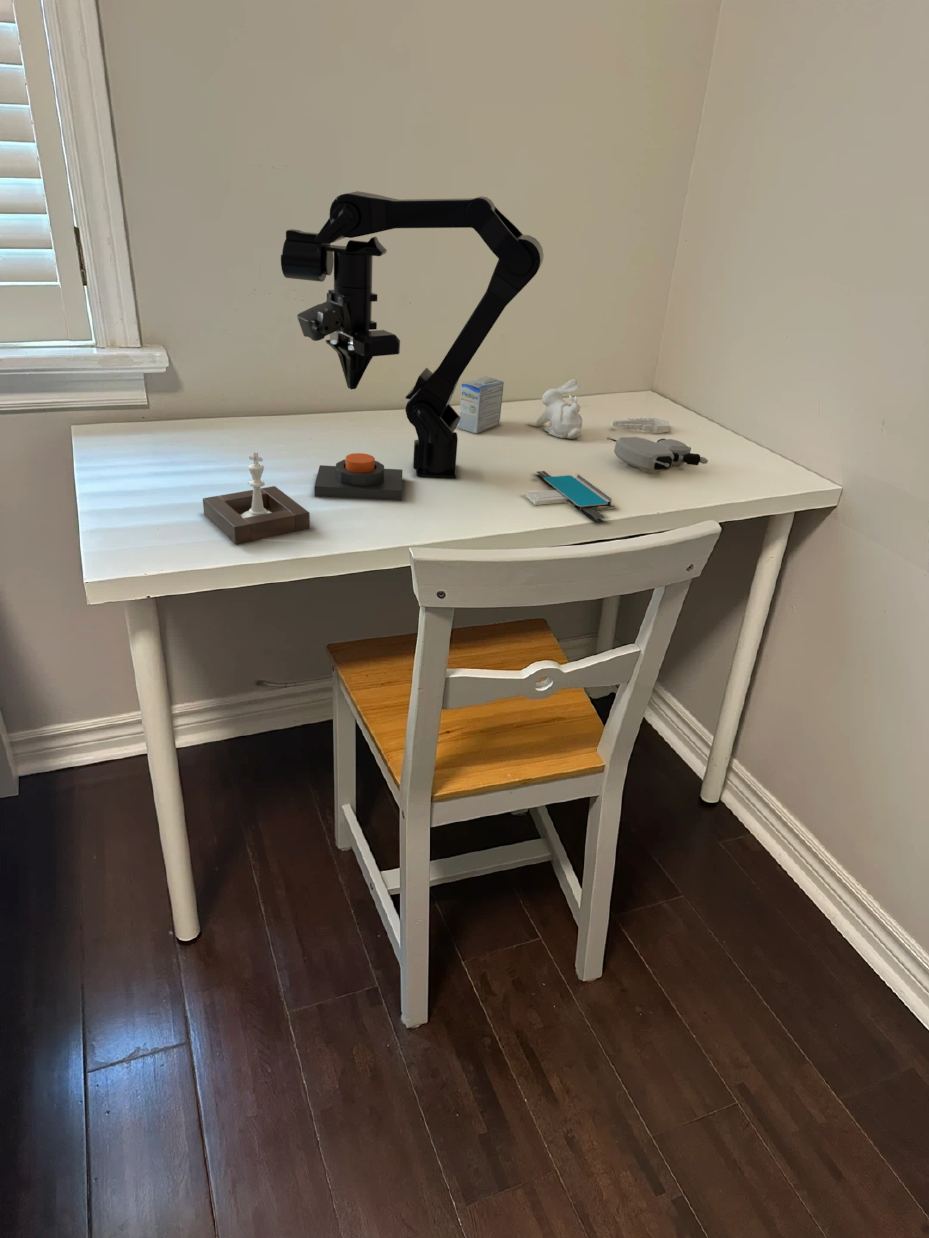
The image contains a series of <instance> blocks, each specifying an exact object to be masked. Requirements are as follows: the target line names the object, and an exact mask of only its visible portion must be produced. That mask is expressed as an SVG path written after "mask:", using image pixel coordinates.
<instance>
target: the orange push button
mask: <svg viewBox="0 0 929 1238" xmlns="http://www.w3.org/2000/svg"><path fill="white" fill-rule="evenodd" d="M345 459H346V469H347V470H348V471H352V472H363V473H364V472H371V471H373V470H374V469H375V461H376V458H375V457H374V456H373V455H372V454H369V453H363V452H355V453H350V454H347V455H346V456H345Z"/></svg>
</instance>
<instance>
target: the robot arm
mask: <svg viewBox="0 0 929 1238" xmlns="http://www.w3.org/2000/svg"><path fill="white" fill-rule="evenodd" d="M458 228H459V229H462V228H463V229H465V228H471V229H473V230H474V231H475V232H476V233H477V234H478V236H479V237H480V238H481V239H482V241H483V242H484V243H485V245H486V246H487V247H488V249H489V250H490V251H491V252H492V253H493V254H494V256H495V257H496V258H497V259H498V260H497V262H496V265H495V267H494V270H493V272H492V275H491V277H490V280H489V283H488V285H487V288H486V291H485V292H484V295H483V296H482V297H481V299H480V301H479V302H478V303H477V306H476V307H475V308H474V310H473V311H472V313H471V315H470V317H469V318H468V320H467V322H465V324H464V326H463V328H462V329H461V330H460V332H459V334H458V335H457V337H456V339H454V342H453V343H452V345H451V347H450V348H449V350H448V351H447V353H446V354H445V356H444V358H443V359H442V361H441V363H439V366H437V368H436V369H435V370H434V371H433V372H432V371H431V370H430V368H428V367H425V368H424V369H423V370H422V372H421V373H420V374H419V375H418V377H417V379H416V381H415V384H414V386H413V387H412V388H411V390H410V391H409V392H408V393H407V394H406V396H405V397H404V398H405V399H406V400H408V401H407V402H406V405H405V410H404V411H405V414H406V418H407V420H408V422H409V424H411V425H412V426H413V427H414V430H415V432H416V435H417V439H414V440H413V456H412V457H413V458H412V459H413V460H412V465H413V466H412V467H413V470H415V475H416V477H423V478H441V479H457V470H456V469H457V468H456V466H457V454H458V442H459V441H458V440H459V439H458V432H455V430H456V429H457V427H458V424H459V421H460V416H459V414H458V412H457V411H456V410H455V409H454V408H453V407H452V406H451V404H450V403H451V401H452V398H453V395H454V393H455V391H456V388H457V386H458V383H459V380H460V378H461V376H462V374H463V373H464V371H465V369H466V368H467V366H468V365H469V364H470V362H471V361H472V359H473V358H474V357H475V354H476V353H477V351H478V350H479V348H480V347H481V345H482V344H483V342H484V340H485V339H486V337H487V336H488V334H489V333H490V332H491V330H492V328H493V327H494V325H495V323H496V322H497V321H498V319H499V318H500V316H501V315H502V313H503V311H504V310H505V308H506V307H507V306H508V305H509V304H510V303H511V302H512V300H514V298H515V297H517V295H518V294H519V293H520V292H522V290H523V289H524V288H525V287H526V286H527V285H528V284H529V282H530V281H531V280H533V278H535V276H536V275H537V273H538V271H539V270H540V268H541V267H542V264H543V262H544V249H543V246H542V245H541V243H540V242H539V241H538V239H537V238H536V237H533V236H532V235H529V234H523V232H522V231H521V230H520V229H519V228H518V227H517V226H516V225H515V224H514V223H513V222H512V221H511V220H510V219H509V218H508V217H507V216H505V215H504V214H503V213H502V212H501V211H500V209H499V208H498V207H496V205H495V203H494V202H493V201H492V199H490V198H488V197H487V196H482V195H481V196H477V197H474V198H417V199H416V198H413V199H412V198H411V199H407V198H406V199H397V198H394V197H393V198H392V197H388V196H385V195H380V194H375V193H369V192H364V191H359V190H358V191H352V192H347V193H343V194H340V195H337V196H336V197H335V199H334V200H333V201H332V202H331V204H330V207H329V218H328V219H327V221H326V222H325V223H324V224H323V226H322V228H320V231H318V232H311V231H309V232H308V231H303V230H300V229H295V228H290V229H287V230H286V231H285V240H284V242H283V245H282V250H281V251H282V252H281V254H280V267H281V272H282V274H283V277H284V278H286V279H290V280H291V279H292V280H302V281H310V282H311V281H312V282H322V283H323V282H324V281H325V280H326V278H327V276H331V275H332V274H333V289H328V290H327V292H326V300H325V301H324V302H322V303H319V304H316V305H314V306H312V307H310V308H307V309H305V310H303V311H300V312H299V313H297V315H296V317H297V321H298V323H299V326H300V329H301V332H302V335H303V336H304V337H305V338H309V339H311V340H312V341H315V342H318V341H322V340H323V339H325V337H326V336H328V335H329V339H326V340H325V343H326V344H327V345H328V346H329V347H331V348H332V349H333V350H334V351H335V352H336V353H337V356H338V359H339V362H340V366H341V369H342V372H343V376H344V380H345V383H346V387H347V388H348V389H350V390H356V389H357V388H358V385H359V383H361V382H360V381H361V380H362V378H363V376H364V374H365V371H366V369H367V368H368V366H369V364H370V363H371V360H372V359H373V358H374V357H382V356H383V357H384V356H395V355H399V354H400V353H401V340H400V338H399V337H398V336H397V335H396V334H395V333H392V332H389V331H387V330H385V329H378V328H377V327H378V323H377V322H376V321H374V320H372V311H373V309H372V306H373V305H372V304H373V303H375V302H378V294H377V293H376V292H375V293H374V292H373V262H374V261H373V257H382V256H383V255H386V254H387V253H388V251H387V249H386V248H385V246H384V245H383V244H382V243H381V242H380V241H379V239H378V237H377V236H373V237H371V238H369V240H368V241H365V240H355V239H354V240H353V239H352V238H358V237H364V236H368V235H372V234H377V233H381V232H384V231H389V230H394V229H458ZM345 238H346V239H347V238H348V239H349V240H348V242H347V243H346V245H337V244H336V245H335V244H333V243H335V242H338V241H341V240H343V239H345Z"/></svg>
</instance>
